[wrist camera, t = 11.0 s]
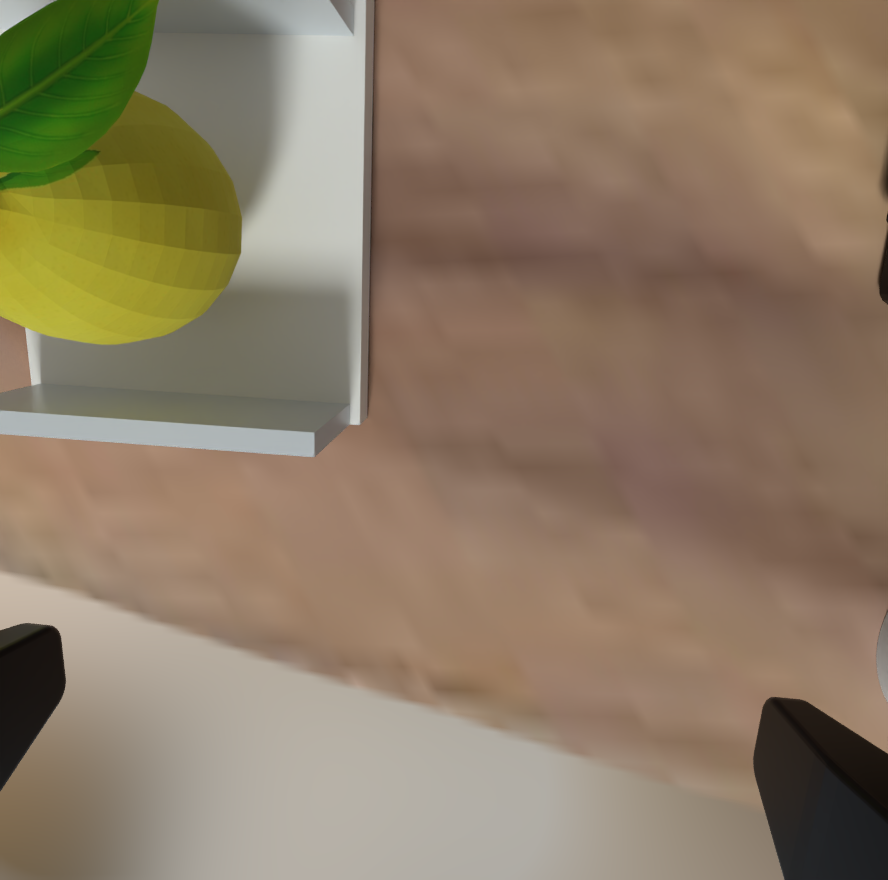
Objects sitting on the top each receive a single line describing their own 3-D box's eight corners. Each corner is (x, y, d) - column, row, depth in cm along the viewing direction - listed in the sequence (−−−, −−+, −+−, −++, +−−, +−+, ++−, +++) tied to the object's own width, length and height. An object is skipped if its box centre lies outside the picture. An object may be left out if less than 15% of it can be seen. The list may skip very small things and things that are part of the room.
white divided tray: (382, -479, 15) (328, -791, 10) (367, 417, 20) (326, 458, 16) (-33, -458, 16) (-242, -737, 11) (55, 396, 21) (-65, 428, 16)
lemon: (295, 97, 17) (10, -132, 7) (313, 327, 18) (96, 388, 9) (53, 112, 18) (-496, -79, 8) (89, 332, 19) (-341, 394, 9)
